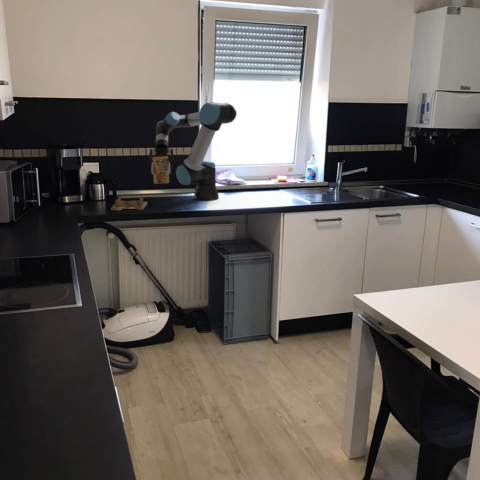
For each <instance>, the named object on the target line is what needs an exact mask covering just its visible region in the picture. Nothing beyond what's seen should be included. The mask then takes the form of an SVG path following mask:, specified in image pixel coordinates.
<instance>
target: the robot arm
mask: <svg viewBox="0 0 480 480" xmlns="http://www.w3.org/2000/svg"><path fill="white" fill-rule="evenodd" d="M237 115H238V114H237V108H236V107H235V105H234V104H233V103H231V102H226V101H225V102H223V101H222V102H214V101H212V102H205V103H204V104H203V105H202V106H201V107H200V109H199V111H198V112H193V113H187V114H179V113H178V112H175V111H170V112H169V113H168V114H167V115H166V116H165V118H164V119H163V120H160V121H159V120H158V121H157V123H156V127H155V148H154V149H152V148H150V149H149V155H148V157H147V160H146V163H147V165H149V169H150V170H151V171H150V172H151V174H152V175H153V157H168V168H169V170H168V171H169V175H170V174H171V169H173V165H174V164H176V159H175V155H174V149H173V148H171V149H169V134H170V133H171V131H173V130H174V129H175V128H178V129H179V128H192V127H194V126H195V127H196V126H200V128H199V130H198V133H197V136H196V138H195V140H194V142H193V143H194V144H193V145H192V147H191V150H190V153H189V155H188V158H185V159H184V161H183V163H182V164H180V165H179V166H177V167H176V169H175V170H176V171H175V175H176V179H177V181H178V182H179V183H180V184H181V185H183V186H186V185H187V186H189V185H193V184H196V188H195V192H194V195H193V198H194V200H197V201H214V200H218V199H219V196H220V195H219V192H218V189H217V186H216V184H217V183H216V181H217V180H216V177H217V176H216V175H217V174H216V173H217V172H216V170H217V168H216V164H215V162H214V161H207V160H206V161H205V160H204V159H205V156H206V155H207V152H208V151H209V147H210V145H211V143H212V140H213V138H214V136H215V134H216V132H218V131H219V130H220V129H221V126H222V125H223V124H224V125H225V124H230V123H232V122H233V121H234V120H235V119H236V117H237ZM154 153H155V154H154ZM168 153H169V154H170V155H169V154H168ZM153 154H154V155H153ZM170 156H171V157H170Z"/></svg>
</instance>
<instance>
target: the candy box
mask: <svg viewBox="0 0 480 480" xmlns="http://www.w3.org/2000/svg"><path fill="white" fill-rule="evenodd" d="M152 158H153V174H152V175H153V183H154V184H155V185H158V184H169V183H170V174H169V171H168V170H169V161H168V157H165V156H159V157H154V156H152Z"/></svg>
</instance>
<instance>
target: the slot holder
mask: <svg viewBox="0 0 480 480" xmlns="http://www.w3.org/2000/svg"><path fill="white" fill-rule="evenodd" d="M146 206H148V201H144V197H140V198H139V199H138V200H122V198H121V197H118V198H117V199H116V200H115V201H114V204H113V205H112V206H111V207H110V211H123V210H122V209H137V210H136V211H143V210H144V209H146Z"/></svg>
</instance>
